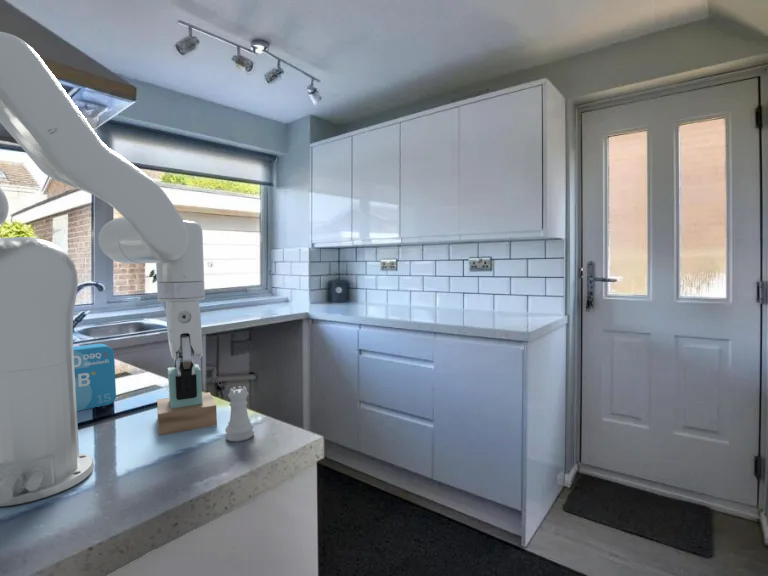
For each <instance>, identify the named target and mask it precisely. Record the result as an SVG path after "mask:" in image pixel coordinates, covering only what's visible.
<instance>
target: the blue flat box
mask: <svg viewBox="0 0 768 576" xmlns="http://www.w3.org/2000/svg"><path fill="white" fill-rule="evenodd" d="M73 353H74V370H75V389H76V407H77V412H80V411H81V410H82V411H85V410H86V409H87V410H91V409H90V408H92V409H96V408H95V407H97V408H101V406H102V407H107V406H110V405H111V404H113V403H114V402H115V400H116V398H117V387H116V367H115V352H114V349H112V347H110V346H108V345H107V344H104V343H94V344H86V345H85V344H84V345H78V346H77V345H76V346H73ZM82 411H81V412H82Z"/></svg>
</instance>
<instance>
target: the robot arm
mask: <svg viewBox="0 0 768 576" xmlns="http://www.w3.org/2000/svg"><path fill="white" fill-rule="evenodd" d="M0 124H1V125H2V126H3V127H4V130H6V131H7V132H8V133H9V134H10V136H11V137H12V138H13V139H14V140H15V141H16V143H17V144H18V145H19V146H20V147H21V149H23V151H24V152H25V153H26V155H28V157H29V158H30V159H31V161H33V163H34V164H35V165H36V167H38V169H39V170H40V171H41V172H42V173H43V174H44V175H45V176H48V177H49V178H51V179H53V180H55V181H58V182H60V183H62V184H63V185H66V186H69V187H72V188H75V189H77V190H80V191H83V192H86V193H88V194H91V195H93V196H95V197H96V198H98V199H100V200H101V201H103V202H105V203H106V204H108V205H109V206H111V207H112V208H114V210H115V211H116V212H118V213H119V214H120V215H122V216H121V217H117V218H114V219H112V220H110V221H108V222H107V223H105V224H104V225H103V226H102V227H101V229H100V230H99V232H98V239H97V241H98V245H99V247H100V249H101V251H102V252H103V254H104V255H105V256H107V257H108V258H109V259H111V260H112V261H115V262H118V263H122V264H129V265H130V264H135V265H137V264H142V265H143V264H155V266H156V269H155V270H156V290H157V302H158V303H159V302H161V303H165V316H166V318H165V319H166V332H167V340H168V348H169V351H170V356H171V358H172V360H174V367H177V376H176V398H177V400H182V399H189V398H195V397H197V381H196V374H195V365H196V363H195V356H198V358H202V357H203V356H204V349H203V347H204V346H203V336H202V335H203V333H202V319H201V318H202V317H201V306H200V301H203V300H205V299H206V298H205V297H206V296H205V294H206V292H205V271H204V270H205V268H204V267H205V266H204V265H205V264H204V262H205V261H204V239H203V234H204V233H203V229H202V225H200V224H199V223H198V222H197V221H192V220H191V221H190V220H184V219H183V218H182V216H181V214H180V213H179V211H178V210H177V209H176V207H175V205H174V204H173V203H172V200H170V198H169V197H168V196H167V193H165V191H164V190H163V189H162V188H161V187H160V185H158V184H157V182H155V181H154V180H153V179H152V178H151V177H149V176H148V174H146V173H145V172H143V171H142V170H141V169H140V168H139V167H137V166H135V165H134V164H133V163H132V162H130V161H129V160H127V159H126V158H125V157H123V156H122V155H121V154H119V153H117V152H116V151H114V150H113V149H111V148H110V147H108V146H107V144H105V143H104V142H103V140H101V138H100V137H99V136H98V135H97V133H96V132H95V131H94V128H92V126H91V125H90V123H89V122H88V120H87V118H85V116H84V115H83V114H82V112H81V111H80V110H79V108H78V106H77V105H75V103H74V101H73V100H72V99H71V97H70V96H69V94H68V93H67V92H66V90H65V89H64V88H63V86H62V85H61V83H60V82H59V81H58V79H57V78H56V76H55V75H54V74H53V73H52V71H51V70H50V69H49V67H48V66H47V64H46V63H45V62H44V60H43V59H42V58H41V57H40V55H39V54H38V53H37V52H36V51H35V49H34V48H33V47H32V46H31V45H29V44H28V43H27V42H26V41H25V40H23V39H22V38H20V37H18V36H17V35H14V34H11V33H8V32H4V31H0ZM8 214H9V201H8V198H7V195H6V194H5V192H4V190H3V189H2V187H1V186H0V227H2V225H3V224H4V223H5V222H6V219H7V218H8ZM78 279H79V277H78V272H77V268H76V266H75V263H74V261H73V259H72V257H70V256H69V254H68V253H67V252H66V251H65V250H64V249H62V247H60V246H59V245H57V244H54V243H53V242H51V241H49V240H45V239H43V238H42V239H41V238H38V237H28V236H18V237H17V236H16V237H15V236H14V237H13V236H12V237H1V236H0V507H7V506H8V507H9V506H15V505H22V504H26V503H30V502H34V501H39V500H41V499H45V498H49V497H50V496H53V495H56V494H60V493H62V492H63V491H66V490H69V489H70V488H72V487H74V486H76V485H78V484H79V483H81V482H82V481H84V480H85V479H86V478H87V477H89V476H90V474H92V472H93V471H94V467H95V465H94V458H93V457H92V456H91V455H88V454H86V453H82V452H80V448H79V428H78V427H79V426H78V411H77V407H76V389H75V370H74V353H73V347H74V333H73V332H74V315H75V314H74V313H75V306H76V301H77V300H76V299H77V294H78V285H79V283H78V282H79V280H78Z"/></svg>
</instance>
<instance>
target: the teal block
mask: <svg viewBox="0 0 768 576" xmlns="http://www.w3.org/2000/svg"><path fill="white" fill-rule="evenodd" d="M201 369H202V368H200V366H199V364H198V363H195V374H196V381H197V397H195V398H189V399H182V400H177V398H176V376H177V367H175V366H174V367H173V366H172V367H167V380H168V382H167V383H168V394H169V395H168V398H169V399H170V406H171V409H172V408H179V407H185V406H191V405H197V404H203V403H202V393H203V389H202V388H203V387H202V370H201Z"/></svg>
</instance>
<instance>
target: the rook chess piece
mask: <svg viewBox="0 0 768 576" xmlns="http://www.w3.org/2000/svg"><path fill="white" fill-rule="evenodd" d="M249 394H250V393H249V392H248V391H247V387H246V386H240V385H239V386H238V388H236V386H233V387H232V388H230V389H229V393H228V394H227V397H228V398H229V399H230V403H229V406H230V417H229V421H228V423H227V424H228V425H227V426H226V428H225V429H224V430H225V431H224V432H225V433H226V434H225V436H224V437H225V439H226V440H227V441H229V442H231V443H232V442H233V443H241V442H245V441H247V440H250V439H252V437H253V435H254V434H255V432H254V430H253V429H254V425H253V424H252V422H251V420H250V418H249V413H248V409H247V408H248V407H247V405H248V404H249V402H248V401H247V398H248V396H249Z"/></svg>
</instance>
